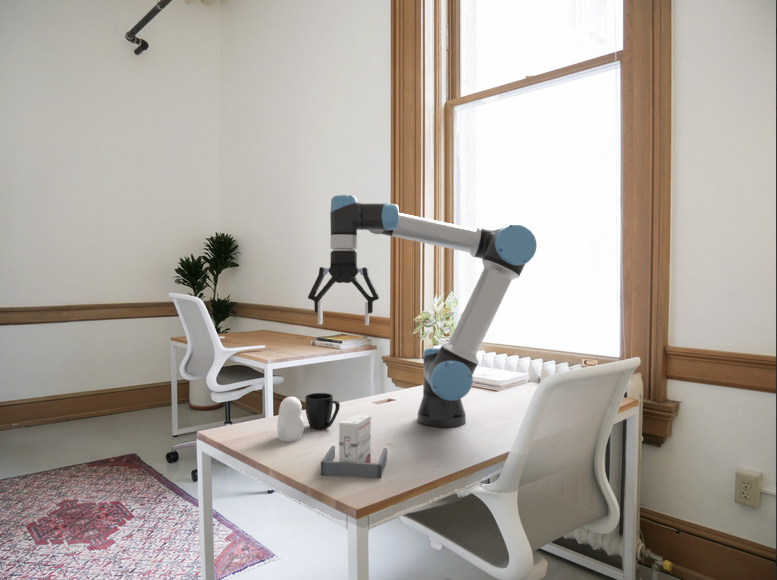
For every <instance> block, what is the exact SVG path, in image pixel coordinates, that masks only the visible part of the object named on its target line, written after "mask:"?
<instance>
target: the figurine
mask: <svg viewBox="0 0 777 580" xmlns="http://www.w3.org/2000/svg"><path fill="white" fill-rule="evenodd" d="M302 410H303V407H302V402H301V401H300V399H298V397H295V396H288V397H284V399H283V400H282V401H281V403H280V405H279V408H278V416H277V425H276V426H277V431H276V433H277V438H278V440H279V441H281V442H296V441H298V440H300V439H301V437H302V434H303V432H305V431H304V430H305V421H304V418H303V415H302V412H303V411H302Z"/></svg>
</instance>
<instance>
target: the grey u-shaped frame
mask: <svg viewBox="0 0 777 580" xmlns="http://www.w3.org/2000/svg"><path fill="white" fill-rule="evenodd" d="M335 458H336V446H335V445H331V446H330V448H329V449H328V451H327V452H326V453H325V455H324V457H323V458H322V460H321V461H320V475H321V476H329V477H330V476H332V477H354V478H355V477H357V478H373V479H376V478H377V479H381V478H382V475H383V474H384V470H385V467H386V464H387V461H388V448H387V447H384V448H383V449H382V452H381V454H380V457H379V460H378V462H377V463H376V462H375V463H374V462H373V463H371V462H370V463H355V462H339V461H334V460H335Z"/></svg>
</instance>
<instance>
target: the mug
mask: <svg viewBox="0 0 777 580" xmlns="http://www.w3.org/2000/svg"><path fill="white" fill-rule="evenodd" d="M333 398H334V396H333V394H330V393H326V392H325V393H324V392H314V393H309V394H306V395H305V397H304V400H305V401H304V403H305V414H306V419H307V422H308V425H309V428H310V429H311V430H316V431H319V430H321V431H322V430H326V429H328V428H330V427H331V426H332V425H333V423H334V422H335V419H336V418H337V416H338V414H339V410H340V408H341V406H340V404H341V403H340V402H339V401H338V400H334V399H333ZM334 404H335V407H334V408H335V409H334V411H333V405H334ZM332 414H333V415H332Z"/></svg>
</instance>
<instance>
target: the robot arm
mask: <svg viewBox="0 0 777 580" xmlns="http://www.w3.org/2000/svg"><path fill="white" fill-rule="evenodd" d="M329 213H330V249H331V251H330V265H329V267H328V268H327V267H324V266H322V267H321V266H320V267H319V269H318V275H317V277H316V279H315V282H314V284H313V286H312V288H311V290H310V292H309V294H308V296H307V299H308V300H312V301H313V302H314V311H313V312H314V313H317V325H320V326H321V325H323V318H324V316H323V314H324V313H323V311H324V310H323V307H324V306H323V305H324V302H323V301H321V300H322V298H323V297H324V296H326V294H327V292H328V291H329V290H330V289H331V287H333V285H334V284H335V283H336V284H343V283H344V284H350V283H352V285H354V286H355V288H356V290H358V291H359V292H360V294H361V295H362V297H364V298H365V300H366V301H365V302H364V326H369V325H370V314H372V313H373V311H374V309H373V308H374V305H373V303H374V301H377V300H379V299H380V296H379V293H378V292H377V289H376V287H375V285H374V283H373V282H372V280H371V277H370V275H369V269H368V267H361V268H360V267H359V268H358V264H357V263H358V262H357V261H358V254H357V253H358V252H357V249H358V243H357V242H358V230H361V231H362V230H363V231H369V232H370V233H372V234H374V235H384V236H389V237H390V236H391V237H394V238H400V239H404V240H409V241H414V242H418V243H423V244H428V245H432V246H437V247H440V248H447V249H451V250H457V251H461V252H465V253H469V254H470V256H471V257H474V258H478V259H481V262H482V264H483V270H482V272H481V274H480V276H479V279H478V280H477V283H476V284H475V287H474V289H473V291H472V293H471V295H470V297H469V299H468V302H467V303H466V304H465V305H466V306H465V308H464V310H463V312H462V313H461V316H460V318H459V321H458V323H457V324H456V327H455V329H454V331H453V333H452V335H451V337H450V339H449V341H448V342H446V343H444V344H441V346H440V347H439V348H437V347H435V348H433V347H432V348H425V349H424V350H423V356H422V361H423V372H422V373H423V383H422V385H423V386H422V390H423V393H422V395H423V396H422V399H421V401H420V405H419V407H418V411H417V422H419V423H420V424H421V425H425V426H430V427H437V428H452V427H458V426H462V425H464V424H465V423H466V421H467V420H466V415H467V414H466V411H465V409H464V404H463V401H462V398H463V399H464V397H465V396H467V394H469V392H470V391H471V389H472V388H473V381H474V378H473V375H474V374H475V371H476V368H477V366H478V364H479V360H478V358H477V354H478V352H479V350H480V348H481V345H482V343H483V341H484V339H485V337H486V335H487V333H488V331H489V329H490V326H491V324H492V322H493V321H494V318H495V317H496V314H497V312H498V310H499V307H500V306H501V303H502V301H503V299H504V297H505V295H506V292H507V291H508V289H509V286H510V285H511V282H512V281H514V279H518V278H520V276H521V273H522V271H523V270H524V268H525V265H526V264H527V263H529V262H530V261H531V260H532V259H533V258H534V256H535V253H537V252H536V251H537V247H538V245H537V239H536V236H535V235H534V233H533V231H532V230H531V229H530V228H528V226H525V225H523V224H520V223H507V224H505V225H502V226H500V227H483V226H477V227H476V228H472V227H468V226H461V225H457V224H453V223H448V222H443V221H439V220H434V219H429V218H425V217H420V216H415V215H411V214H407V213H406V214H405V213H401V212H400V208H399V205H398V204H397V203H396V204H395V203H388V202H385V203H361V202H360V203H359V202H358V198H357V196H355V195H350V194H349V195H348V194H340V195H334V196H333V197H332V198H331V200H330V212H329ZM328 274H330V276H331V277H330V278H329V280H328V281H327V282H326V284H325V285H324V286H323V287H322V289H321V290H320V291H319V292H318V290H319V288H320V286H321V284H322V282H323V280H324V278H325V276H326V275H328ZM358 274H359V275H360V276H363V277H362V278H363V280H364V281H365V283H366V285H367V287H368V289H369V291H370V293H368V291H367V290H366V289H365V287H364V286H363V285H362V284H361V282H360V281H359V280H358V278H356V276H357V275H358ZM317 292H318V294H317ZM316 294H317V295H316ZM370 294H371V295H372V296H371V295H370Z"/></svg>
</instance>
